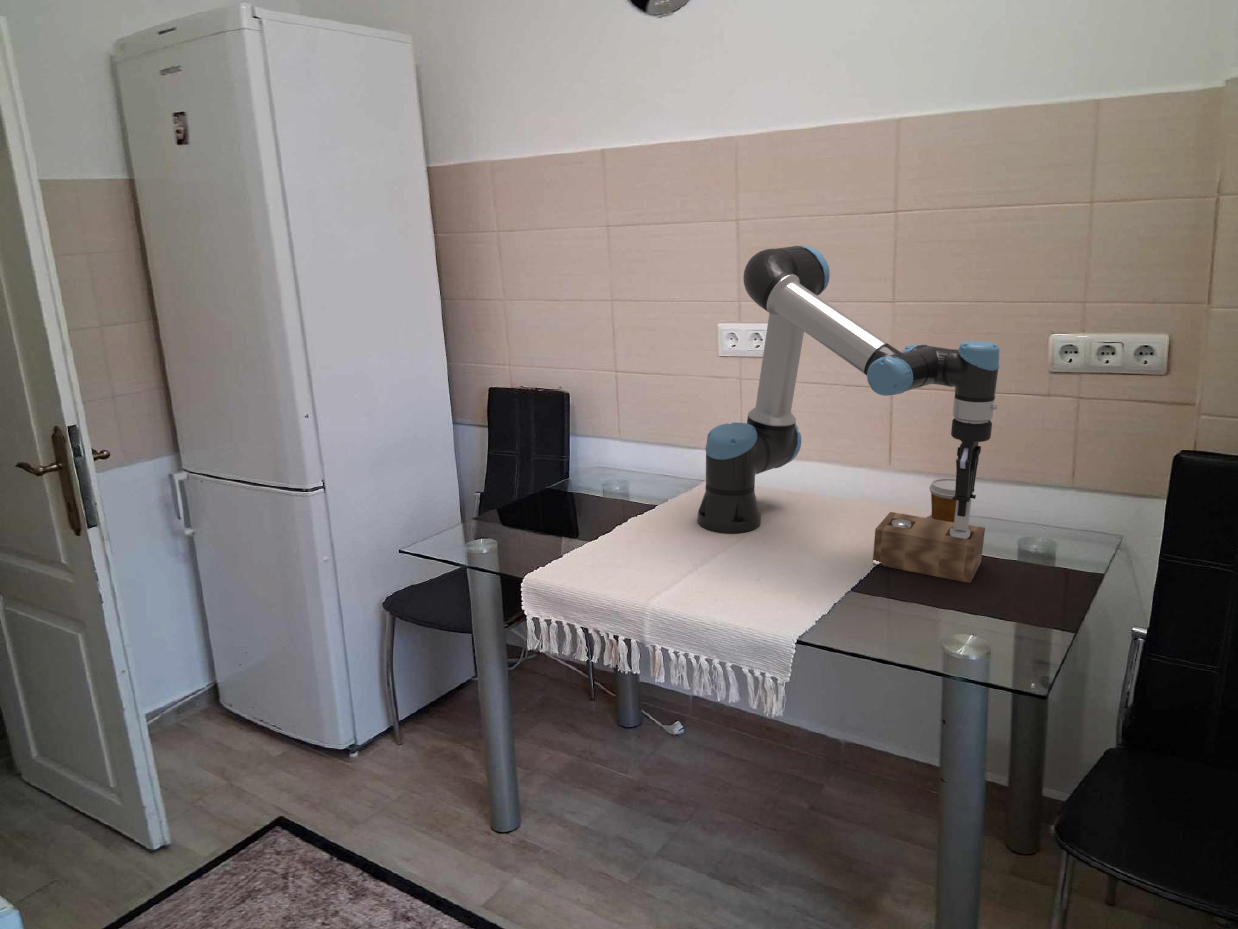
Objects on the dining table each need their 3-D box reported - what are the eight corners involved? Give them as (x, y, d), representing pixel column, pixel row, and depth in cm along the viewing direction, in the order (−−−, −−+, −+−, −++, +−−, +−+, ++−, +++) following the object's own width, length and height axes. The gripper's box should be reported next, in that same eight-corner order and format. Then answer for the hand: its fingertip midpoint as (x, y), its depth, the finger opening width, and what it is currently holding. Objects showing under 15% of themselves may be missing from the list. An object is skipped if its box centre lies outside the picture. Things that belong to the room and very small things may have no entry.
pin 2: (944, 564, 191) (948, 531, 189) (948, 557, 194) (952, 525, 192) (964, 567, 189) (968, 534, 187) (968, 561, 192) (972, 528, 190)
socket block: (872, 563, 195) (875, 529, 193) (887, 545, 205) (890, 511, 203) (970, 583, 185) (974, 546, 183) (980, 562, 195) (985, 527, 193)
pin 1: (887, 555, 197) (889, 523, 195) (891, 549, 200) (894, 518, 198) (905, 559, 195) (908, 527, 193) (910, 553, 198) (913, 521, 196)
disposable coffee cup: (966, 527, 215) (971, 479, 211) (970, 542, 206) (975, 492, 202) (924, 524, 217) (928, 476, 214) (925, 538, 208) (930, 489, 205)
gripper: (986, 428, 175) (974, 542, 182) (997, 414, 186) (985, 522, 193) (946, 424, 179) (935, 535, 186) (959, 410, 190) (948, 516, 197)
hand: (960, 528), depth 189 cm, fingers closed
